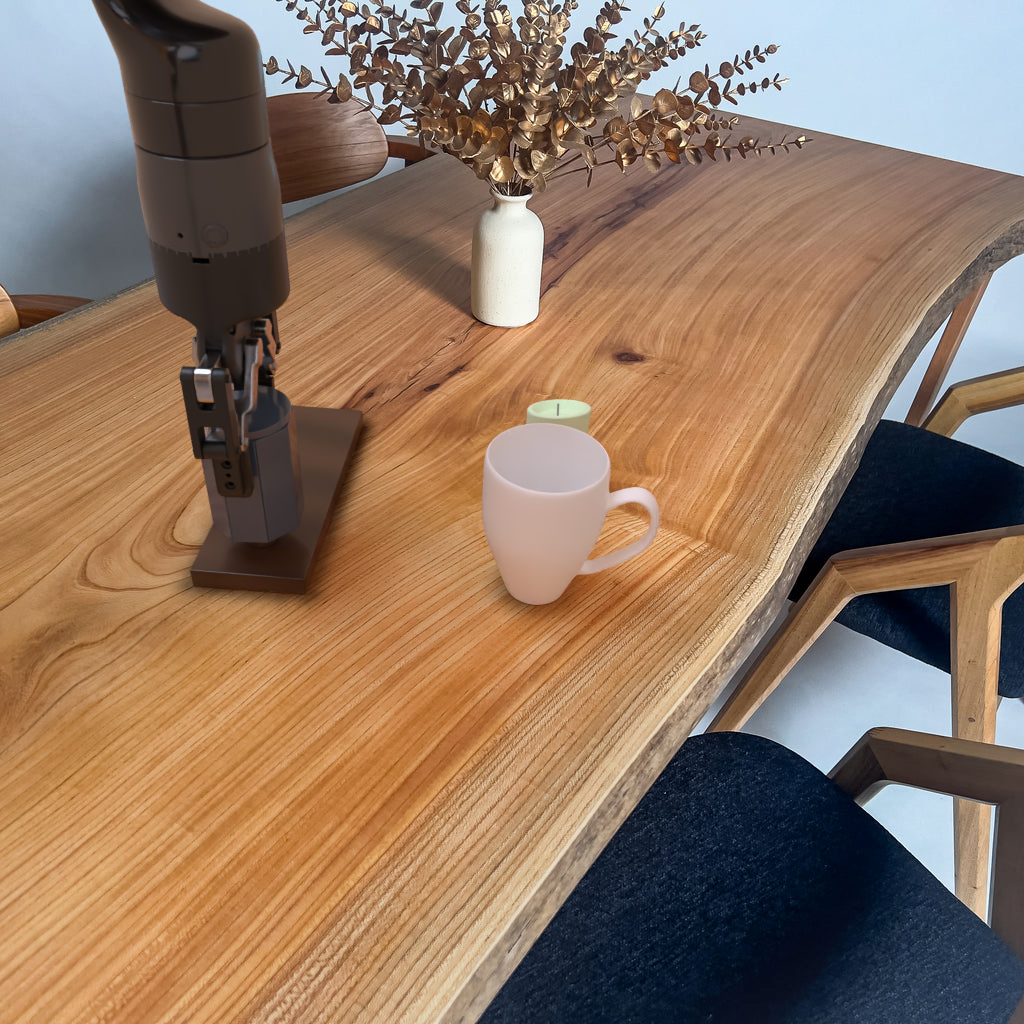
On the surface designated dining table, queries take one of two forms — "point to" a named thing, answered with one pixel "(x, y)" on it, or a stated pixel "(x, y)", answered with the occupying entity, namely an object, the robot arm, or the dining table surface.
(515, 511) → the mug
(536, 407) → the candle
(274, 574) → the cup stand
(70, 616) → the dining table surface
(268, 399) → the cup
